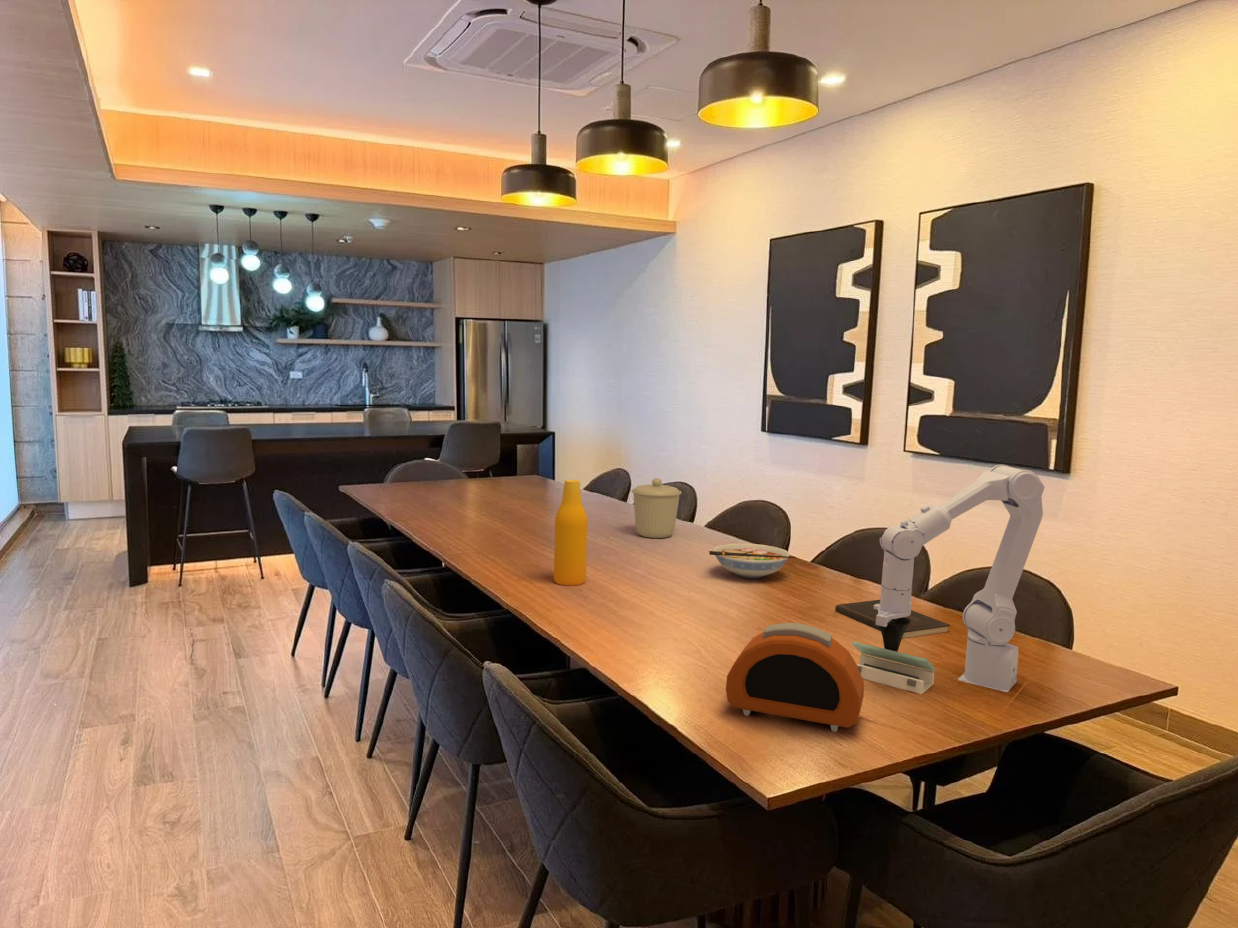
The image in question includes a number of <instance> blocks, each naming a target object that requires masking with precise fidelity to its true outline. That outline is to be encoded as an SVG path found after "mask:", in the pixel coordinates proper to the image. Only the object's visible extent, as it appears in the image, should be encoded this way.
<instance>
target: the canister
mask: <svg viewBox="0 0 1238 928" xmlns="http://www.w3.org/2000/svg"><path fill="white" fill-rule="evenodd" d="M662 482H663V481H662V480H661V478H659V477H658V478H656V477H654V478H653V479H652V480H651V484H642V485H637V486H635V487H634V488H633V489H631V493H632V494H633V509H634V510H633V511H634V520H635V529H636V532H637V534H638V535H640V536H641V537H644V538H650V539H651V538H652V539H665V538H668V537H671V536H672V535H673V533H674V531H675V528H676V522H677V515H678V509H679V501H680V495H681V494H682V491H681V490H679V489H678V488H677V487H675V486H670V485H666V484H665V485H664V484H662Z"/></svg>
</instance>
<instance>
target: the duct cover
mask: <svg viewBox="0 0 1238 928" xmlns="http://www.w3.org/2000/svg"><path fill="white" fill-rule="evenodd" d="M851 645H852V646H853V647H854V648H855V649H857V651H858V652H860V654H864V655H868V656H872V657H876V658H880V659H884V660H888V661H892V662H896V663H900V664H904V665H908V666H912V667H916V668H920V669H924V670H928V671H932V672H935V670H936V668H935V666H933V664H932V663H931V662H930V661H929V660H928V659H927V658H925V657H920V656H917V655H911V654H907V653H904V652H900V651H898V652H896V651H892V650H888V649H884V648H883V647H879V646H876V645H875V646H874V645H870V644H865V643H862V642H858V641H854V640H852V641H851Z"/></svg>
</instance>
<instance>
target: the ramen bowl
mask: <svg viewBox="0 0 1238 928" xmlns="http://www.w3.org/2000/svg"><path fill="white" fill-rule="evenodd" d="M708 553H709V556H715V557H716V559H717V561H718V562H719V564H720V565H721V566H722V567H723V568H725V570H727V571H728V572H732V573H733V574H736V575H737V576H739V577H740V578H744V579H760V578H762V577H765V576H768V575H771V574H773V573H776V572H778V571H780V569H781V568H782V567H784V565H785V564H786V562H787V560H788V559H797V557H795V556H790V554H791V553H790V552H788V551H787V550H786V549H783V548H780V547H776V546H773V545H772V546H771V545H765V544H757V543H743V542H742V543H739V542H737V543H724V544H721V545H720V544H719V545H717V546H715V547H713V548H712V550H710V551H708Z"/></svg>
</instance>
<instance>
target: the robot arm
mask: <svg viewBox="0 0 1238 928" xmlns="http://www.w3.org/2000/svg"><path fill="white" fill-rule="evenodd" d="M1044 490H1045V485H1044V484H1043V482H1042V481H1041V479H1040V477H1039V476H1038V475H1037V473H1035V472H1034V471H1031V470H1030V469H1028V470H1027V469H1021V468H1015V467H1011V466H1009V465H1007V464H996V465H995V466H993V467H992V468H991V469H990V470H987V471H984V472H982V473H981V474H980V475H979V476H978V478H977V479H975V480H974V481H973V482H972V483H970V484H969V485H968V486H966V487H965V488H963V489H962V490H960V491H959V492H958V493H957V494H955V495H954V496H952V497H951V498H950V499H948V500H946V501H945V502H944V503H942V504H941V505H936V504H930V505H925V504H924V505H923V506H921V507H920V511H919V512H918V513H917V512H916V514H914V515H913V516H911V517H909V518H908V519H907V520H906V519H902V520H901V521H900V525H892V526H890V527H888V528H887V529H885V531H884V532H883V533H882V536H881V537H879V544H880V546H881V549H882V550H883V551H884V552H883V563H882V572H881V583H880V584H881V585H880V586H881V587H880V599H879V600H880V604H875V605H874V609H877V610H878V615H876V625H879V627H880V630H881V631H880V633H881V636H882V641H883V647H884V648H883V649H888V650H892V651H896V652H899V649H900V645H901V642H902V639H903V638H902V637H903V634H904V632H905V630H906V628H907V627H908V625H909V624H910V621H911V620H910V619H908V618H903V617H907V616H910V614H911V610H912V603H913V602H911V601H912V600H911V599H912V591H913V580H914V579H913V577H914V563H915V558H916V557H918V555H919V554H920V553H921V549H922V547H923V546H925V545H926V544H928V543H929V542H931V541H932V540H934V539H935V538H937V537H939V536H940V535H942V534H943V533H945V532H947V531H948V530H949V529H950V528H951V523H952V521H953V520H954V519H956V518H958V517H959V516H961V515H962V514H963V515H964V514H965V513H967V512H968V511H970V510H972V509H973V508H975V507H977V506H978V505H980V504H982V503H985V502H987V501H1001V502H1002V504H1003V506H1004V508H1005V509H1006V510H1007V512H1008V514H1009V520H1008V522H1007V524H1006V527H1005V530H1004V532H1003V535H1002V538H1001V540H1000V543H999V546H998V549H997V552H996V554H995V557H994V559H993V562H992V566H991V568H990V571H989V573H988V577H987V580H986V582H985V585H984V587H983V588H982V589H981V590H979V591H977V592H976V593H974V595H973V596H972V600H971V602H969V603H968V604H967V606H966V607H964V610H963V612H962V622H963V623H964V626H965V627H967V637H966V639H967V641H966V652H965V664H964V665H965V666H964V673H963V674H962V675H960V677H958V678H957V680H958V681H960V682H964V683H968V684H973V685H976V686H981V687H984V688H988V689H992V690H995V691H1000V692H1004V693H1008V692H1009V691H1010V690H1011V689H1012V687H1014V685H1015V684H1016V683H1017V682H1018V681H1017V677H1018V676H1017V675H1018V667H1019V666H1018V665H1019V653H1020V651H1019V647H1018V646H1017V645H1015V644H1011V643H1009V641H1010V640H1012V639H1013V637H1014V635H1015V632H1016V624H1015V620H1016V616H1017V613H1018V612H1017V609H1016V606H1015V603H1014V600H1013V597H1014V594H1015V593H1016V589H1017V587H1018V584H1019V581H1020V579H1021V576H1022V574H1023V572H1024V569H1025V567H1026V562H1027V559H1028V557H1029V555H1030V552H1031V549H1032V546H1033V544H1034V541H1035V539H1036V535H1037V533H1038V530H1039V529H1040V525H1041V522H1042V519H1043V515H1044V511H1043V498H1042V495H1043V493H1044Z"/></svg>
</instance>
